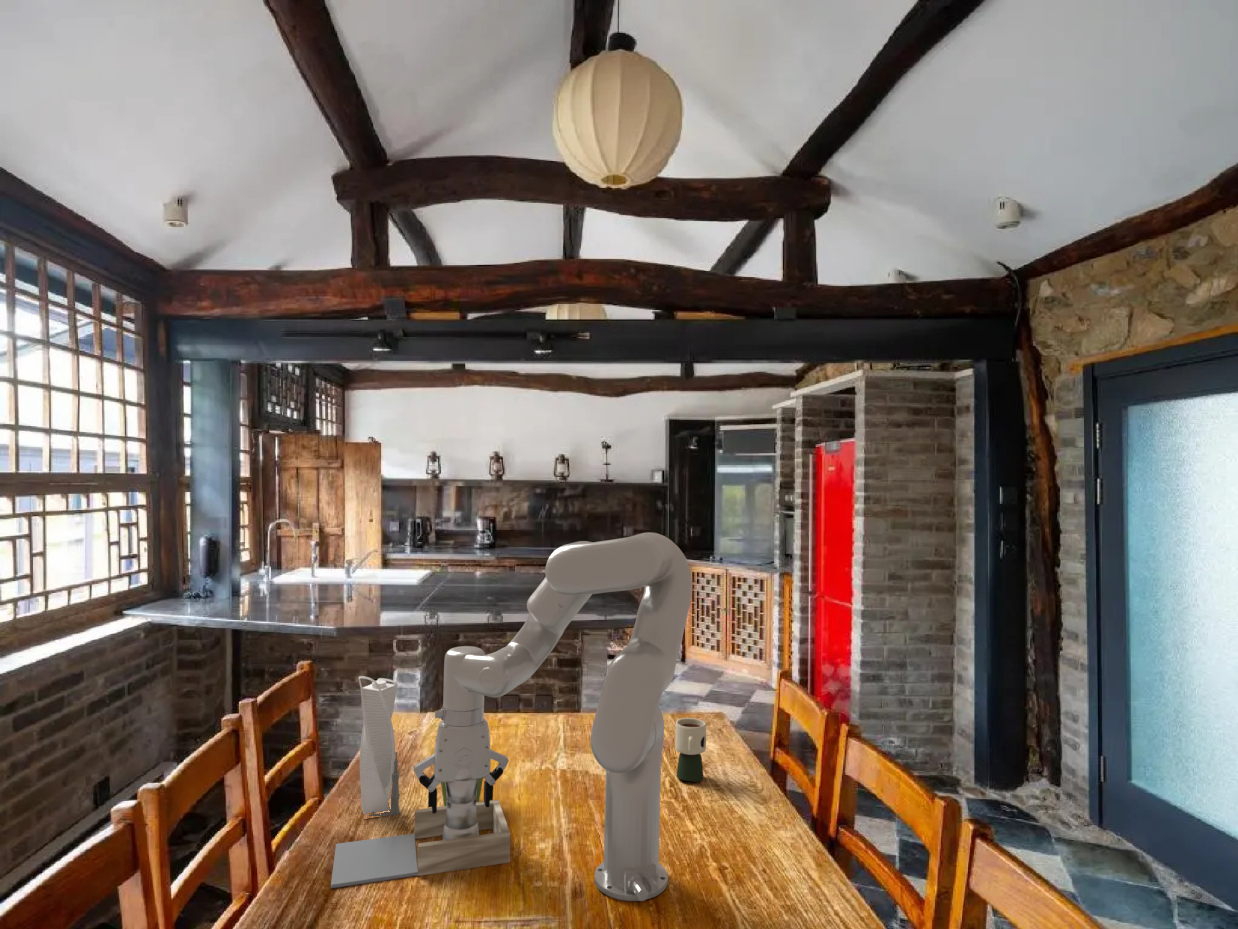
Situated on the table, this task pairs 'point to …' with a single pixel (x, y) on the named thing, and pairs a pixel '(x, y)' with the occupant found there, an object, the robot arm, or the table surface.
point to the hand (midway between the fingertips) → (460, 807)
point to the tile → (374, 860)
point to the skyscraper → (378, 749)
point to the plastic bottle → (461, 807)
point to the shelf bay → (461, 841)
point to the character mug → (690, 748)
